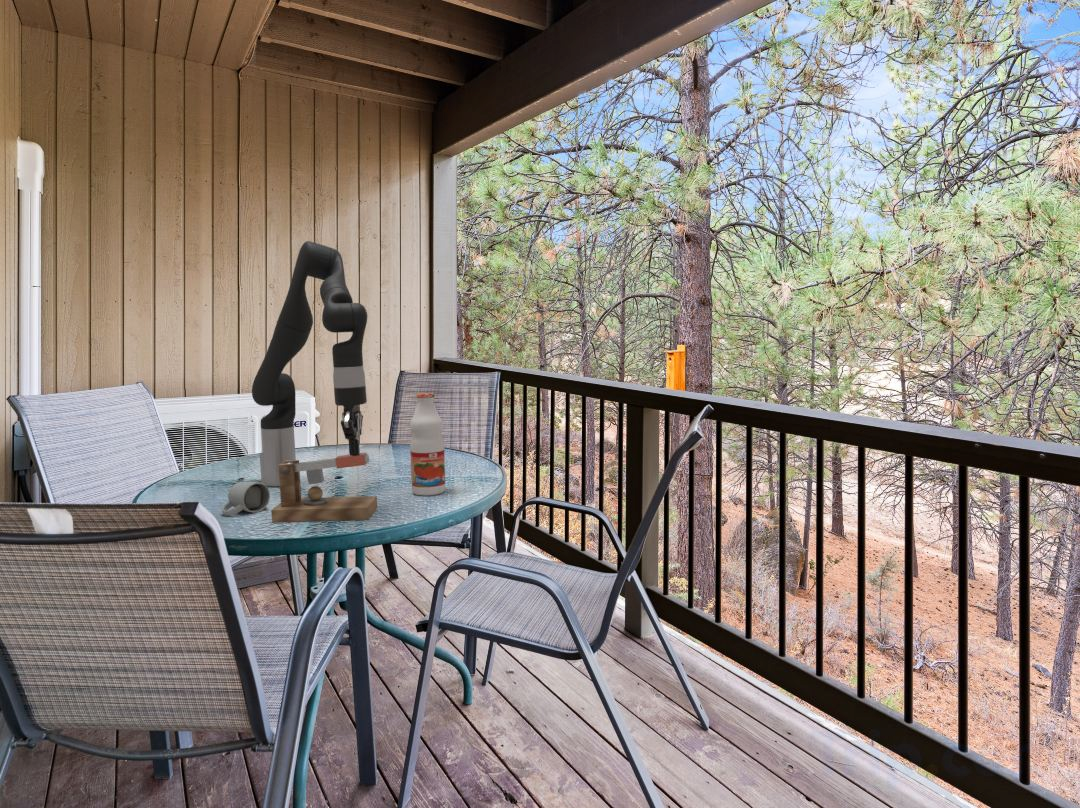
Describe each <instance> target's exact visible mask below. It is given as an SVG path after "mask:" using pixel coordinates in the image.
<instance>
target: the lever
mask: <svg viewBox="0 0 1080 808" xmlns="http://www.w3.org/2000/svg"><path fill="white" fill-rule="evenodd" d="M369 462H370V455H369V453H367V452H361V453H359V454H358V455H350V454H343V455H338V456H336V457H335V458H334V457H333V458H325V459H318V460H310V461H304V462H303V461H302V462H299V463H293V462H288V463H286V464H294V472H300V473H301V472H306V478H307V484H308V485H315V484H321V483H323V482H324V481H325V478H324V472H323V469H331V468H336V469H345V468H352V467H361V466H366V465H367V464H368V463H369Z"/></svg>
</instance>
